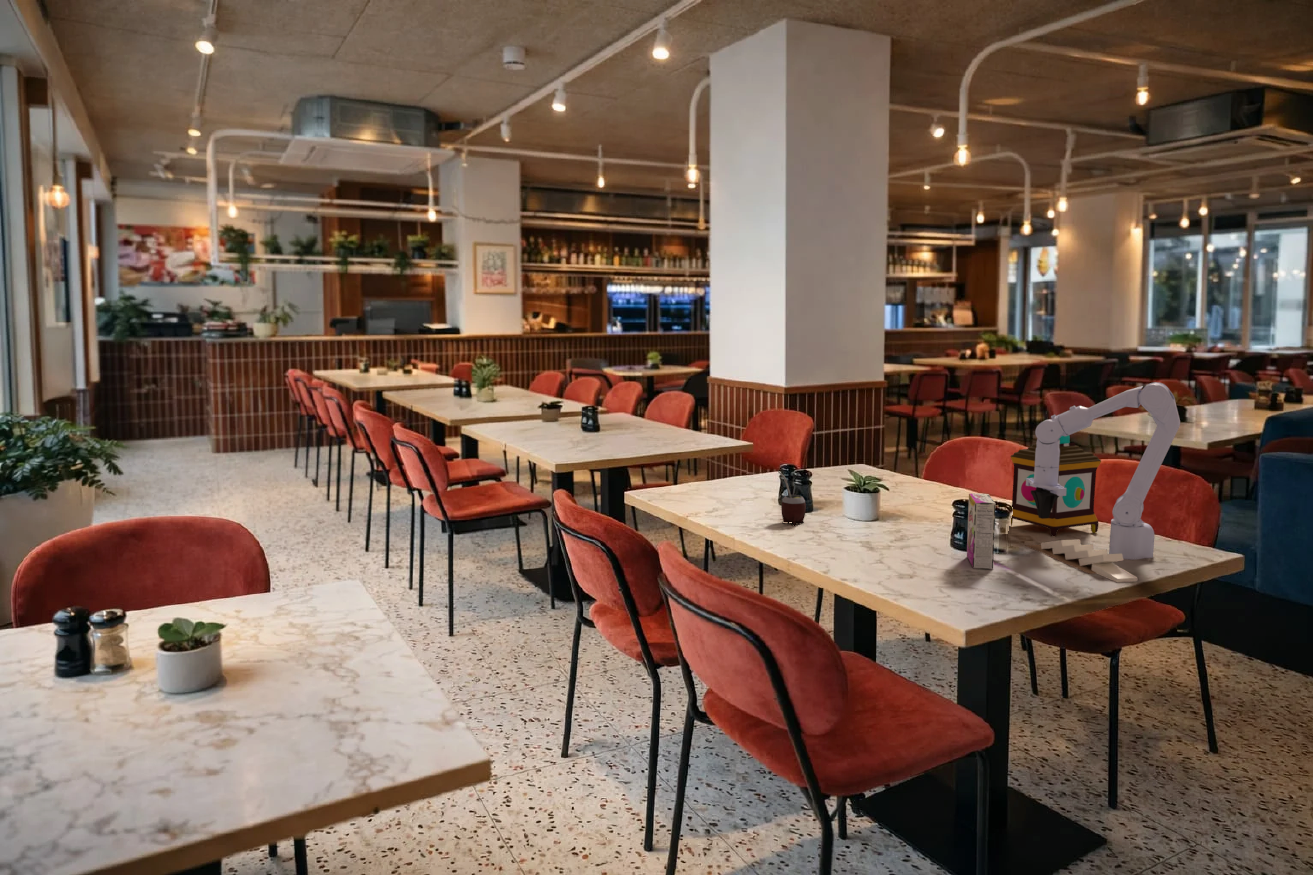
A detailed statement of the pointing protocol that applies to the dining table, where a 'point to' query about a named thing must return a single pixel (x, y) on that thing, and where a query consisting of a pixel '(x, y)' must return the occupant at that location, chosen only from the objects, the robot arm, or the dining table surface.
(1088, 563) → the domino
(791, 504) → the mate gourd
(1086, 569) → the walnut board
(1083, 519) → the decorative lantern
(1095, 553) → the domino
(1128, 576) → the domino
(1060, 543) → the domino
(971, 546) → the candy bar box
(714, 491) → the dining table surface
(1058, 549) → the domino
